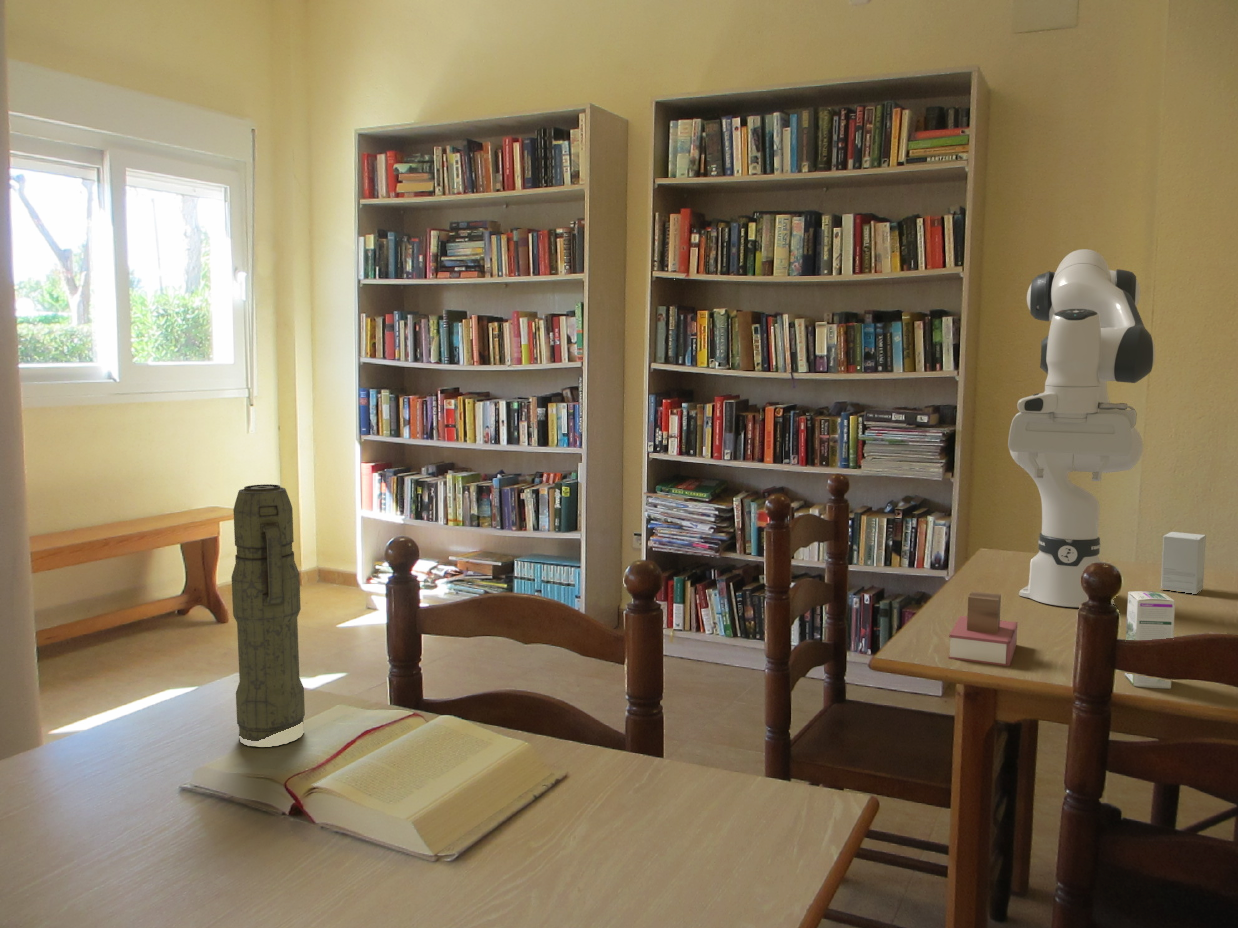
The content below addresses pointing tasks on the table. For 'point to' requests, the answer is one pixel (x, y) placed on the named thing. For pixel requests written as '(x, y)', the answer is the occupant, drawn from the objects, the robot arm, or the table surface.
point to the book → (983, 643)
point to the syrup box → (1149, 626)
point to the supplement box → (1183, 562)
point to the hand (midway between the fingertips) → (1067, 479)
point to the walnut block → (983, 612)
